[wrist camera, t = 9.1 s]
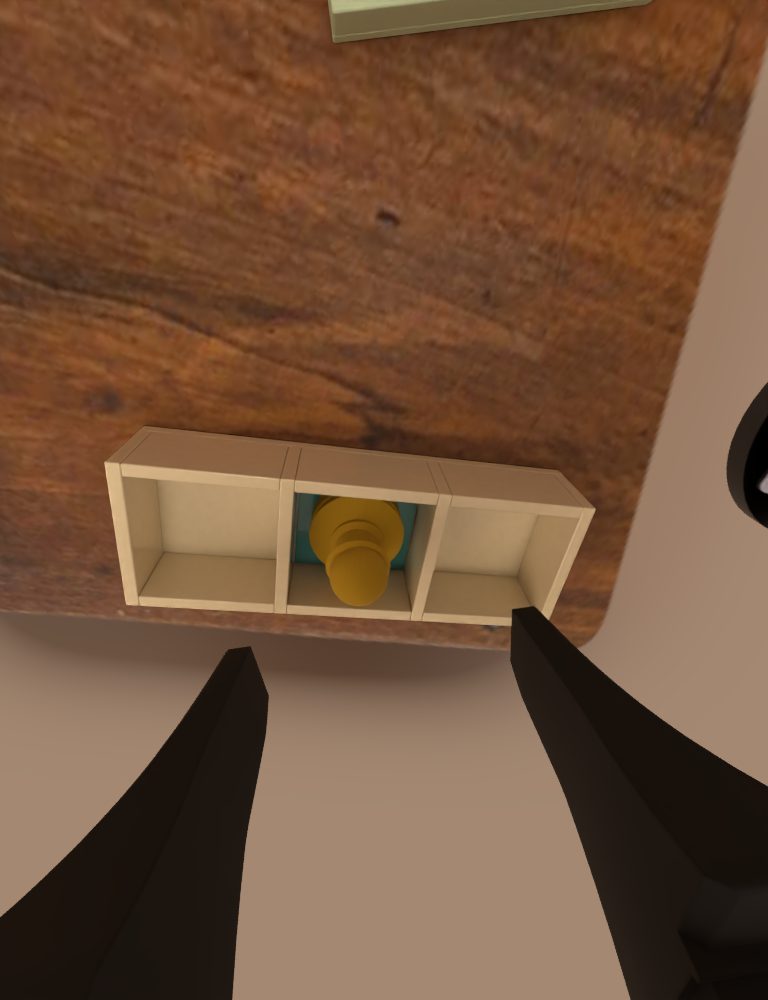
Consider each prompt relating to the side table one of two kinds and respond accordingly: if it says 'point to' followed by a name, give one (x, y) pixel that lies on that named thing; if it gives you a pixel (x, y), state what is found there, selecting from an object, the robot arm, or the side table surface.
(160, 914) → the robot arm
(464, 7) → the tray
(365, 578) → the chess piece
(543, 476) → the three-compartment organizer
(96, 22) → the side table surface
